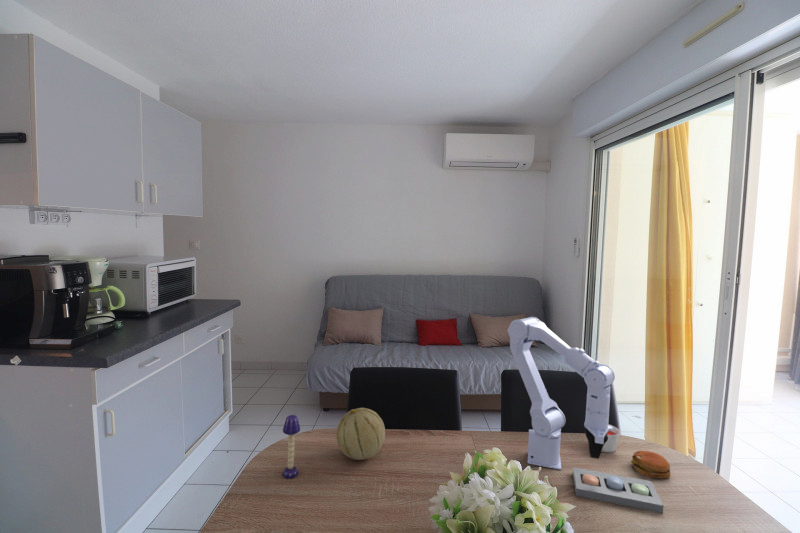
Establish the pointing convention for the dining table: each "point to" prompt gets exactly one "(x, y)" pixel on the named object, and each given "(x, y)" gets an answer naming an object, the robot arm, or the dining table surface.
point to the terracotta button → (590, 480)
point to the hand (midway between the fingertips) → (594, 456)
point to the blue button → (614, 483)
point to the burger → (651, 464)
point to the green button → (639, 489)
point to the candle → (611, 440)
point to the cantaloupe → (360, 433)
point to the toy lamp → (291, 444)
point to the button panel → (617, 491)
